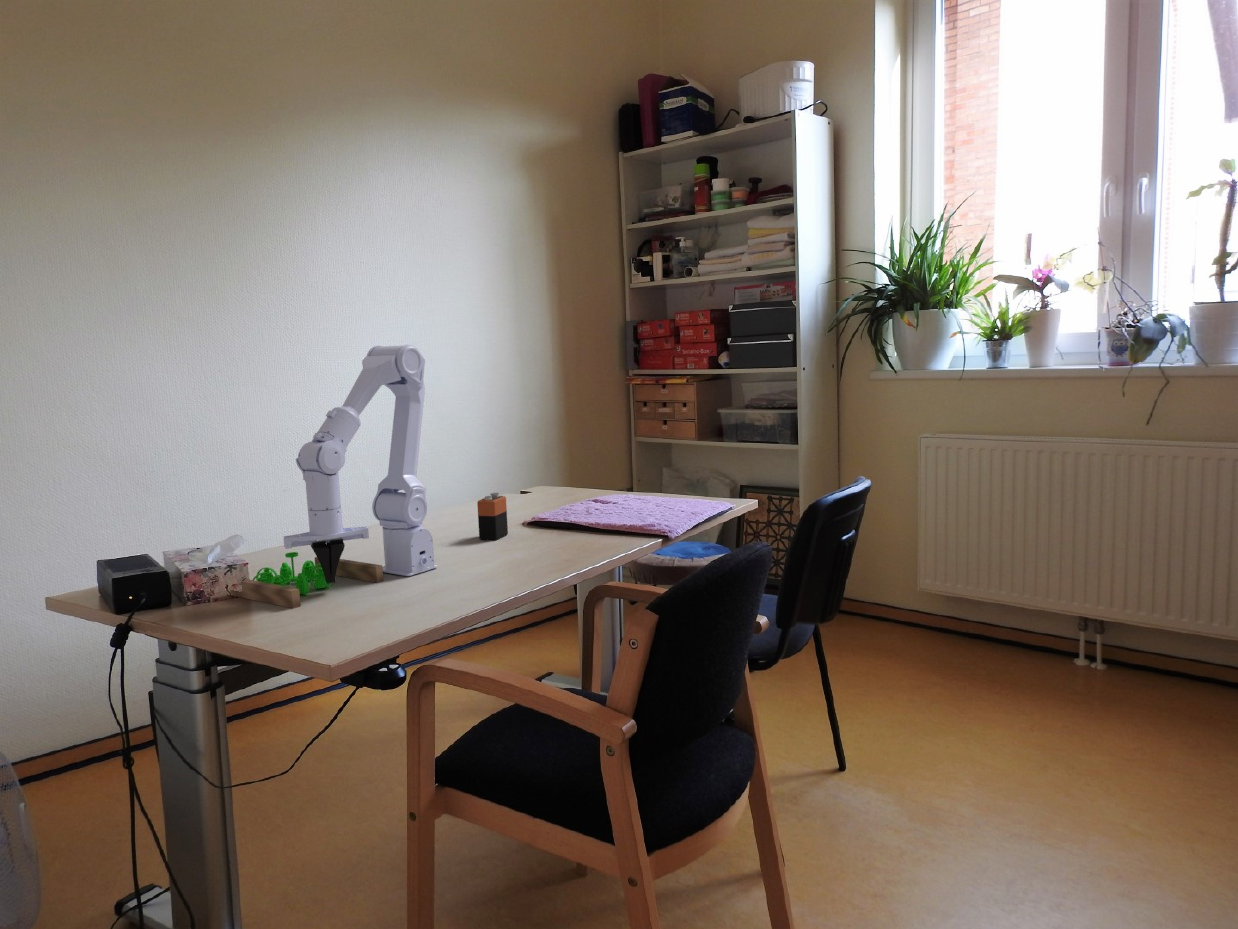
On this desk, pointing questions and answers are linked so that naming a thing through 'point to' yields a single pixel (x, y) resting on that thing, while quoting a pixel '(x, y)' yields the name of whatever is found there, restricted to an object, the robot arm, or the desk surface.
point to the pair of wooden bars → (291, 595)
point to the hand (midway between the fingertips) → (330, 581)
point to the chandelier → (300, 580)
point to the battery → (492, 517)
